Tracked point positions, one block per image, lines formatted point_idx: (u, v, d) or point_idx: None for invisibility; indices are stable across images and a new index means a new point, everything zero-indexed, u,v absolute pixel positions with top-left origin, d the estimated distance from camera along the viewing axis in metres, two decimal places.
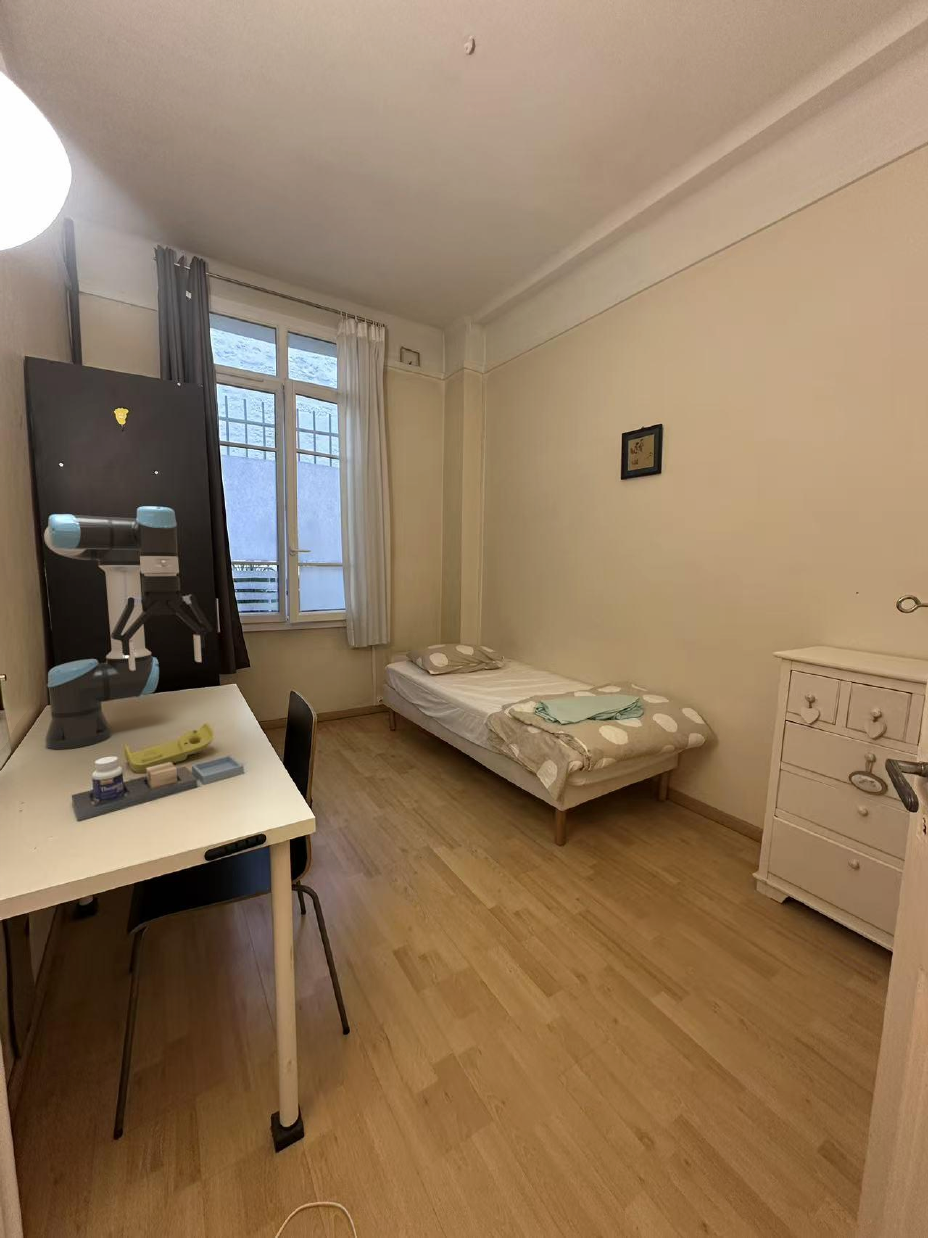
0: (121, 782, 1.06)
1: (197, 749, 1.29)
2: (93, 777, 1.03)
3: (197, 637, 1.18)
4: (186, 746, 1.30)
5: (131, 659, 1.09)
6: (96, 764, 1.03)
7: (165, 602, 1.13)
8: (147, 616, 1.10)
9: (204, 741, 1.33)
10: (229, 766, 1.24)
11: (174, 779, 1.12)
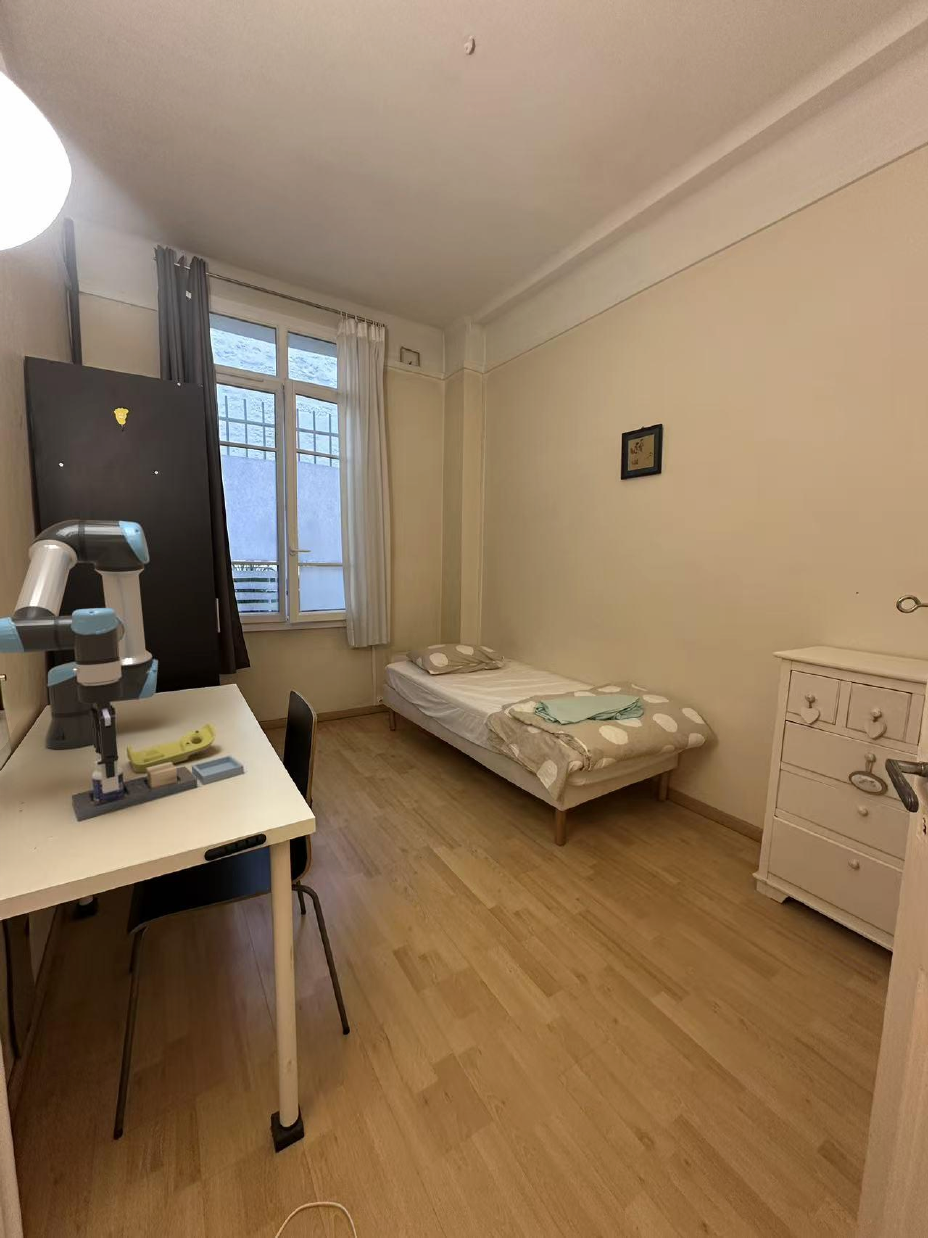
0: (121, 782, 1.06)
1: (199, 749, 1.29)
2: (93, 777, 1.03)
3: None
4: (188, 746, 1.30)
5: None
6: (96, 764, 1.03)
7: (95, 710, 1.02)
8: None
9: (206, 741, 1.33)
10: (229, 766, 1.24)
11: (174, 779, 1.12)
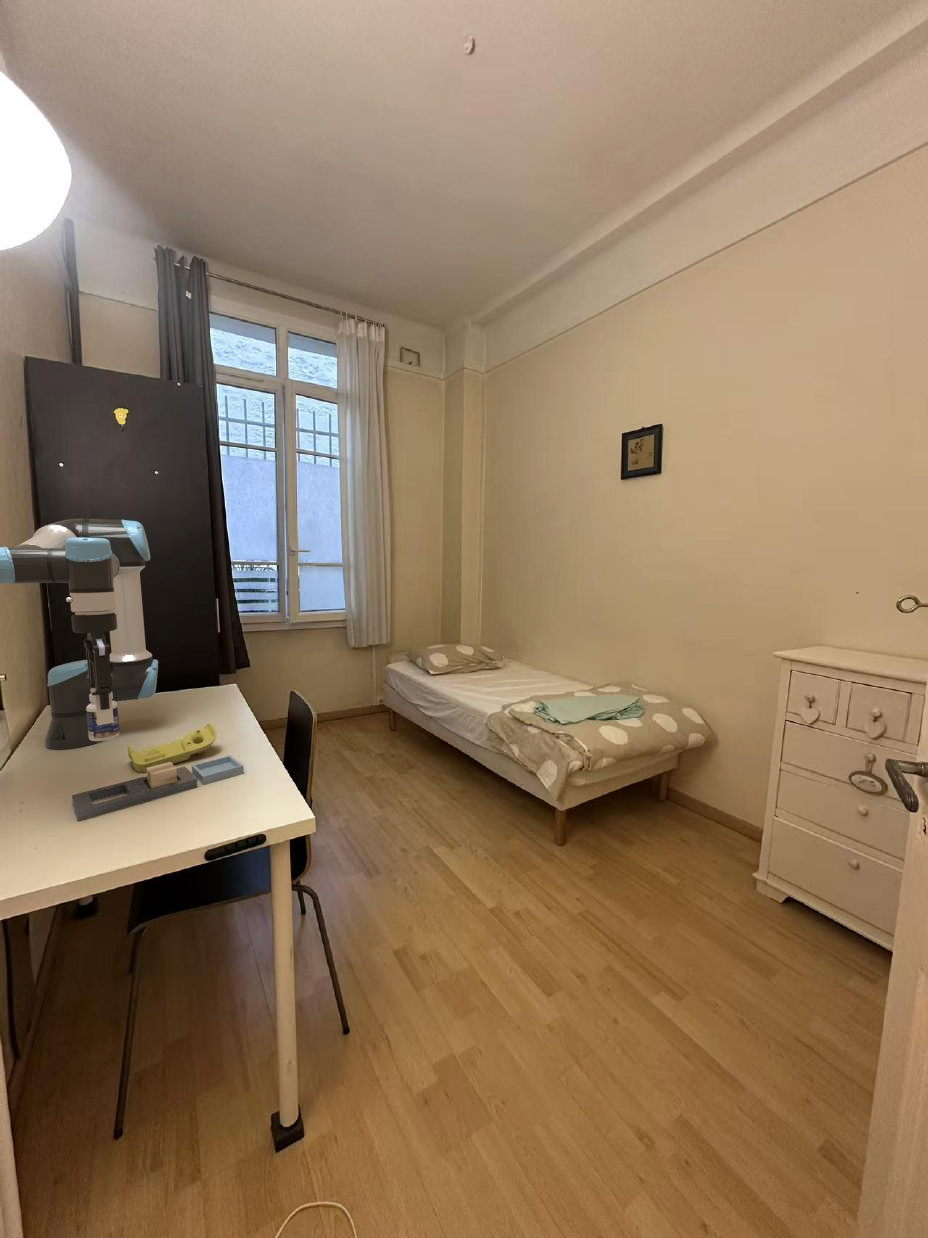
0: (116, 716, 1.04)
1: (199, 749, 1.29)
2: (87, 709, 1.01)
3: None
4: (189, 746, 1.30)
5: None
6: (90, 697, 1.02)
7: None
8: None
9: (207, 741, 1.33)
10: (229, 766, 1.24)
11: (174, 779, 1.12)
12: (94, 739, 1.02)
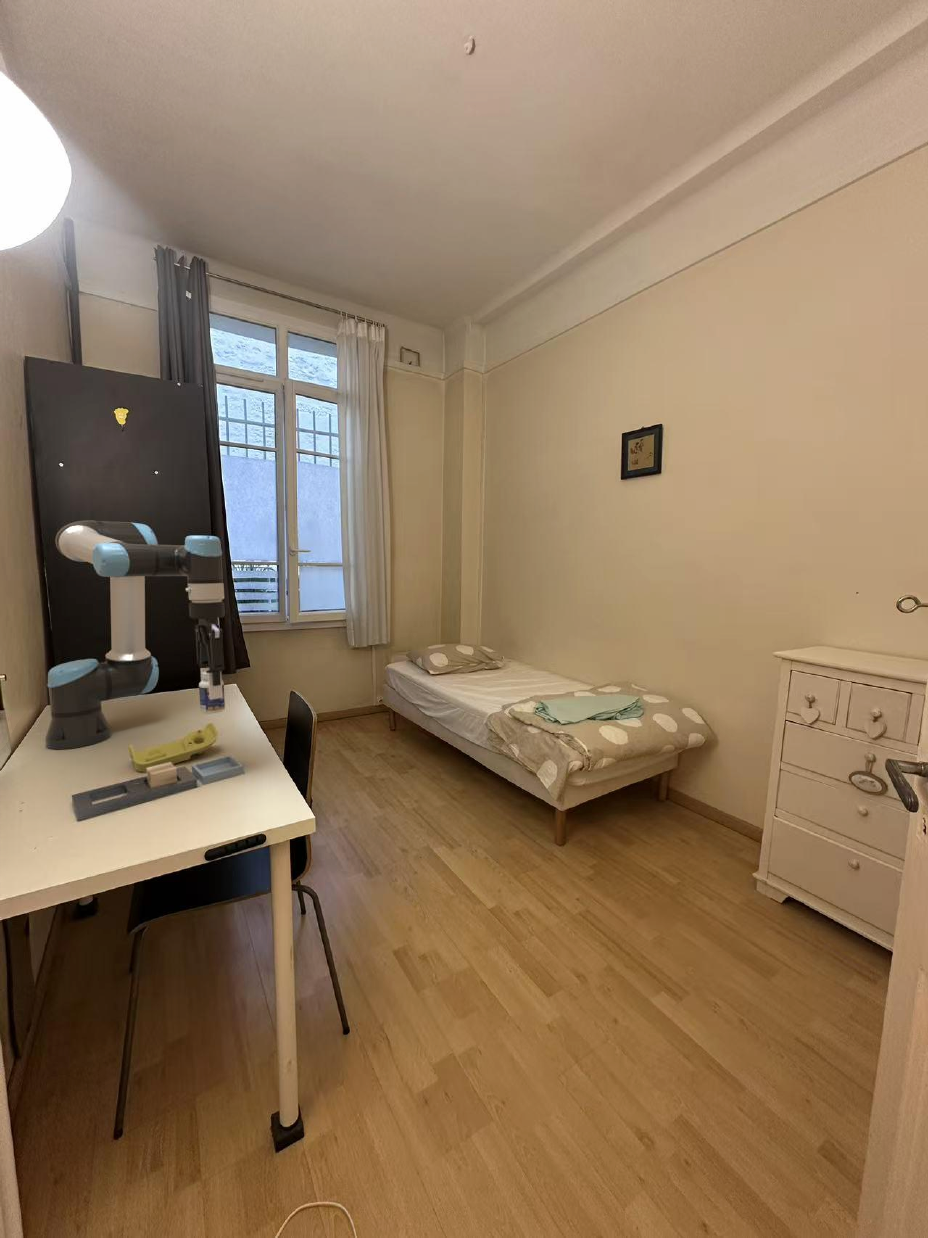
0: (223, 692, 1.19)
1: (200, 749, 1.29)
2: (200, 686, 1.16)
3: None
4: (190, 746, 1.30)
5: None
6: (203, 674, 1.16)
7: None
8: (199, 641, 1.18)
9: (208, 741, 1.33)
10: (229, 766, 1.24)
11: (174, 779, 1.12)
12: (206, 712, 1.16)
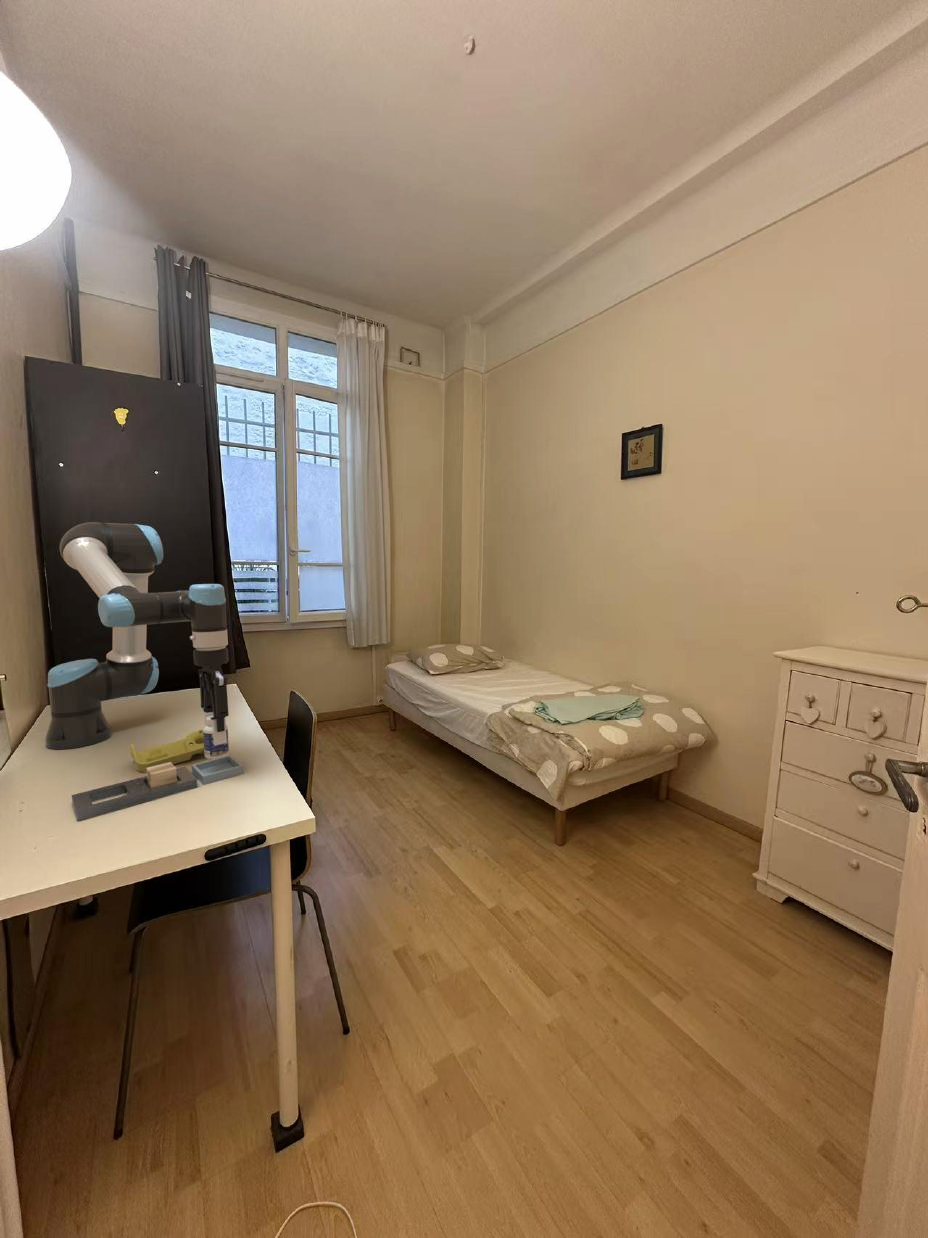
0: (227, 737, 1.20)
1: (201, 749, 1.29)
2: (205, 731, 1.17)
3: None
4: (191, 746, 1.30)
5: None
6: (207, 720, 1.18)
7: (207, 673, 1.17)
8: (203, 687, 1.19)
9: None
10: (229, 766, 1.24)
11: (174, 779, 1.12)
12: (210, 757, 1.18)
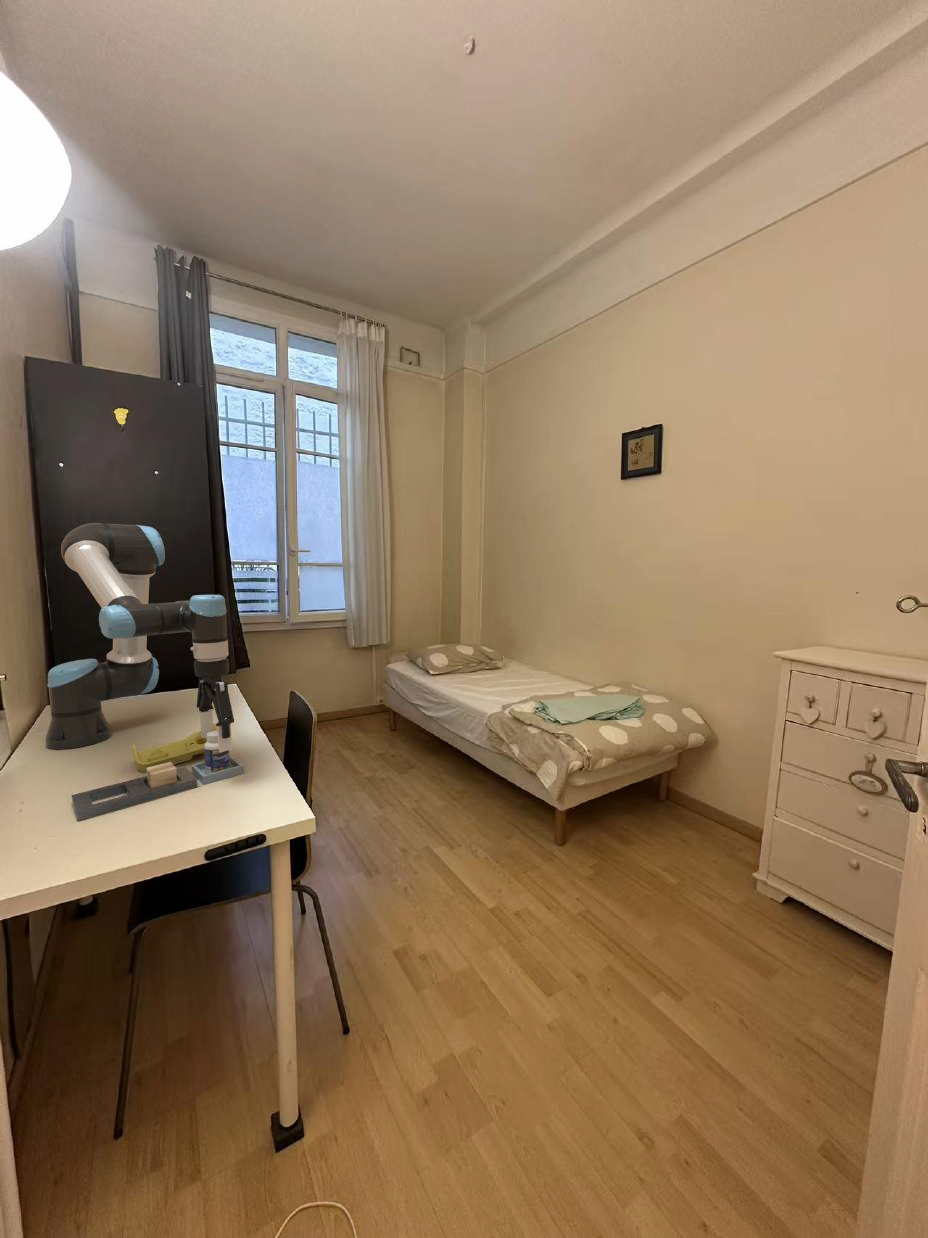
0: (228, 753, 1.21)
1: (202, 750, 1.29)
2: (206, 748, 1.18)
3: None
4: (192, 746, 1.30)
5: None
6: (208, 736, 1.18)
7: None
8: None
9: None
10: (229, 766, 1.24)
11: (174, 779, 1.12)
12: None
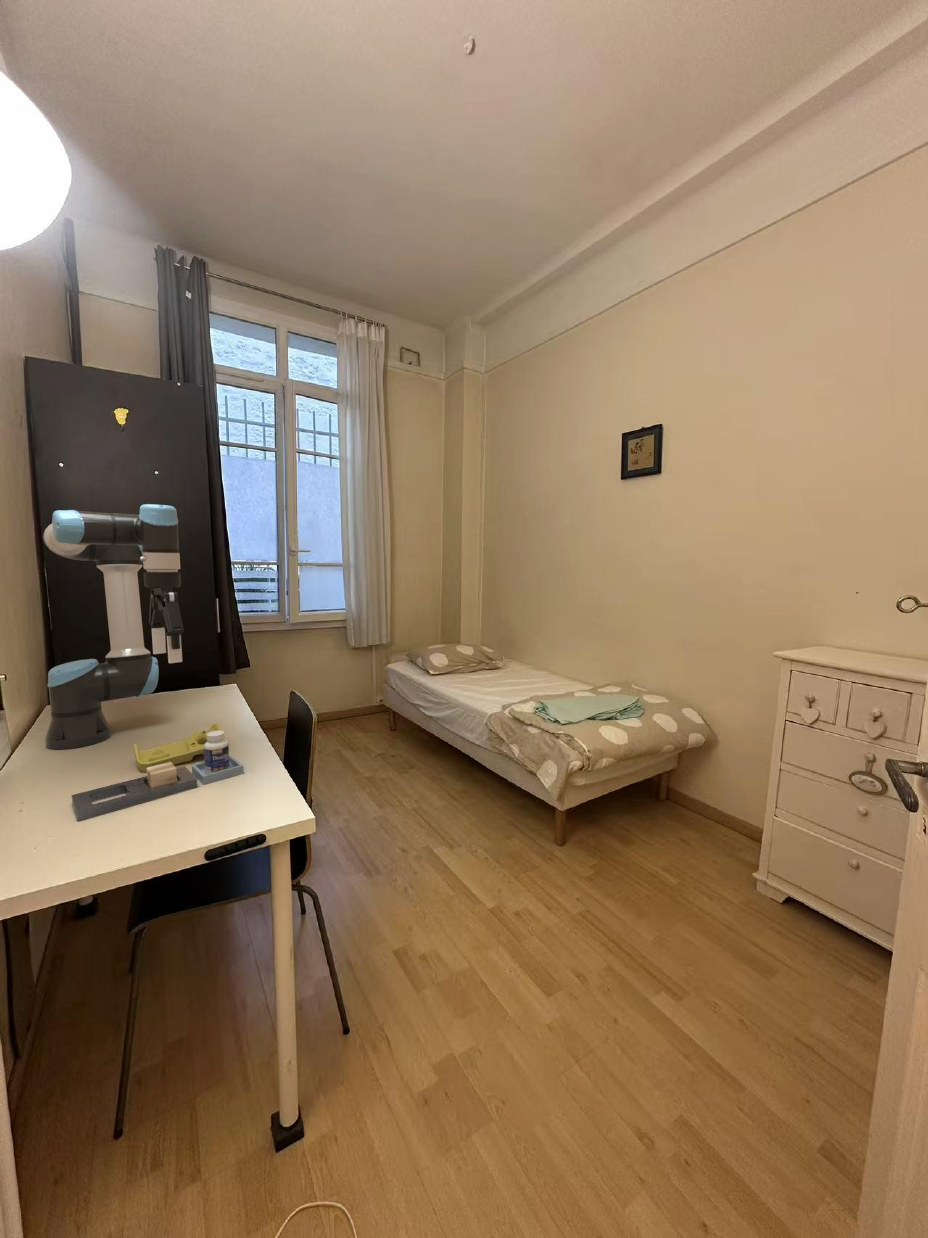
0: (227, 753, 1.21)
1: (203, 750, 1.28)
2: (206, 748, 1.18)
3: None
4: (193, 746, 1.29)
5: None
6: (208, 736, 1.18)
7: None
8: None
9: None
10: (229, 766, 1.24)
11: (174, 779, 1.12)
12: None
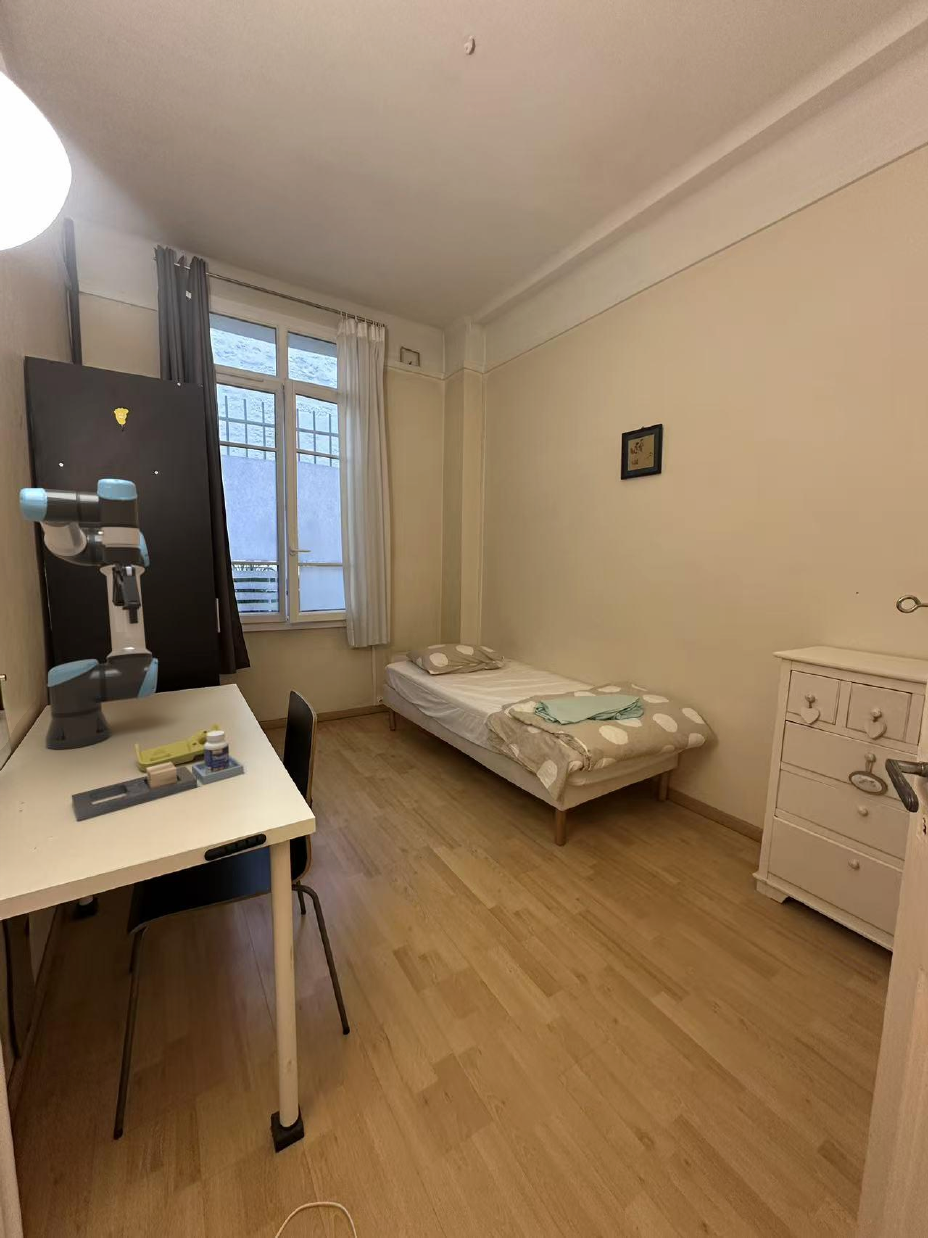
0: (227, 753, 1.21)
1: None
2: (206, 748, 1.18)
3: None
4: (194, 746, 1.29)
5: None
6: (208, 736, 1.18)
7: None
8: None
9: None
10: (229, 766, 1.24)
11: (174, 779, 1.12)
12: None
